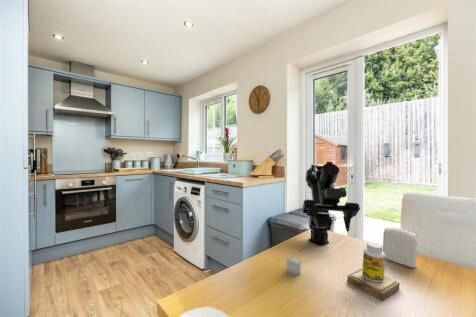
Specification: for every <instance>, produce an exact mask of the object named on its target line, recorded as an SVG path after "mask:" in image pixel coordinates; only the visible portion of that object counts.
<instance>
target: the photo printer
mask: <svg viewBox="0 0 476 317" xmlns="http://www.w3.org/2000/svg"><path fill="white" fill-rule="evenodd" d="M382 236H383V238H382V239H383V240H382V252H384V254H385V260H388V261H392V262H395V263H398V264H400V265H403V266H406V267H409V268H412V269H413V268H416V266H417V247H418V239H417V238H418V237H417V235H416V234H415V233H413V232H412V231H410V230H406V229H403V228H401V227H400V228H399V227H392V226H390V227H389V226H387V227H385V228H384V231H383V235H382Z"/></svg>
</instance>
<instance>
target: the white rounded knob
mask: <svg viewBox="0 0 476 317" xmlns="http://www.w3.org/2000/svg"><path fill="white" fill-rule="evenodd" d="M301 263H302V262H301V260H300V259H299V258H297V257H287V259H286V274H287V275H289V276H291V277H298V276H299V277H300V275H301Z"/></svg>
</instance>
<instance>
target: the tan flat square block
mask: <svg viewBox="0 0 476 317" xmlns="http://www.w3.org/2000/svg"><path fill="white" fill-rule="evenodd" d="M362 269H363V267H362V268H360V269H358V270H356V271H354V272H352V273H350V274H348V275H347V279H346V280H347V281H346V282H347V283H349V284H350V285H353V286H354V287H356V288H358V289H360V290H361V291H364V292H365V293H368V294H369V295H370V296H372V297H373V298H374V297H375V298H376V299H378V300H380V301H381V302H382V301H385V300H386V299H387V298H389V297H390V296H392V295H393V294H395V293H396V292H397V291H399V290H400V282H399V281H397V280H394V279H392V278H390V277H388V276H386V275H384V279H383V281H382V282H373V281H370V280H368V279H366V278H365V277H364V276H363V274H362Z"/></svg>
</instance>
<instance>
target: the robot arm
mask: <svg viewBox="0 0 476 317" xmlns="http://www.w3.org/2000/svg"><path fill="white" fill-rule="evenodd" d="M339 173H340V168H339V167H338V166H337V165H336V164H334V163H333V162H332V161H326V163H325V164H319V163H318V164H317V163H314V164H311V165H310V168H308V169H307V170H306V173H305V182H306V184H307V186H308V187H309V188H310V191H311V197H312V198H311V199H304V200H303V203H302V207H301V208H302V213H303V214H306V216H309V218H308V227H309V229H310V238H308V239H307V240H308V241H309V242H311V243H313V244H315V245H318V246H323V245H326V244H329V243H330V241H329V240H328V238H329V233H328V231H331V230H332V224H333V218H332V216H331V215H330V212H329V211H332V212H333V211H334V212H342V214H343V221H344V227H345V230H346V232H349V231H350V227H351V226H350V225H351V220H352V218H353V217H356V216H357V215H358V214H359V211H360V210H361V207H360V204H359V203H358V202H355V201H354V202H353V201H346V202H345V204H344V205H338V204H340V201H341V200H340V199H342V198H346V197H347V195H348V194H347V189H346V187H339V188H335V185H334V184H335V183H336V181H337V179H338V176H339Z"/></svg>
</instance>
